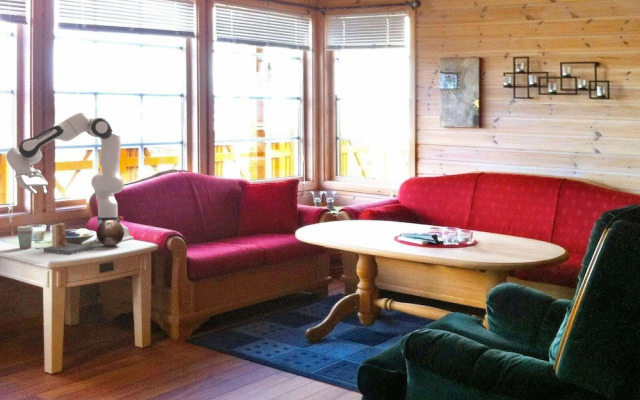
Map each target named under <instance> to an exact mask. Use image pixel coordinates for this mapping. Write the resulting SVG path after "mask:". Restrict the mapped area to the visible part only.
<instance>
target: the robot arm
mask: <svg viewBox="0 0 640 400" xmlns="http://www.w3.org/2000/svg"><path fill="white" fill-rule="evenodd" d="M85 132H86V133H87V134H88V135H90V136H92V137H95V138H99V139H100V143H101V145H100V153H99V154H100V155H99V165H100V166H101V170H102V173H98V174H95V175H94V176H93V177H92V178H91V180H90V181H91V183H90V184H91V186H92V188H93V191H94V192H95V198H96V201H97V212H98V213H97V227H98V226H99V225H100V224H101V223H102V222H103V221H105V220H115V221H117V222H119V223H120V224H121V225H122V227H123V229H124V236H123V239H122V240H121V242H120V243H122V242H125V241H128V240H132V239H134V236H132V235H130V231H129V227H127V226H126V225H124V224H123V223H122V222H121V221H124V216H121V215H120V216H119V215H118V213H119V212H118V210H119V209H118V208H119V206H118V201H117V200H116V197H115V194H118V193H121V192H122V191H123V189H124V186H125V182H124V181H123V178H122V176H121V170H120V169H121V168H120V161H121V159H120V158H121V148H122V145H121V144H122V143H121V136H120V134H119V133H118V132H116V131H113V130H112V127H111V125H110V122H109V121H108V120H107V119H105V118H103V117H95V118H89V116H88V115H87V114H86V113H83V112H79V113H75V114H74V115H72V116H70V117H68V118H67V119H65V120H63V121H61V122H60V123H58V124H57V125H54V126H52V127H50V128H48V129H46V130H44V131H43V132H41V133H39V134H38V135H35V136H33V137H30V138H26V139H23V140H22V141H21V142H20V143H19V145H18V147H12V148H11V149H9V151H8V152H6V156H5V159H6V161H7V163H8V165H9V166H10V167H11V169H12V170H13V171H14V172H15V176H14V177H15V178H16V179H15V180H16V182H17V184H18V186H19V187H20V188H21V189H22V190H27V191H28V192H30V193H31V195H35V194H37V191H36V190H35V189H41V190H42V191H41V192H42V194H43V195H45V194H47V193H48V191H47V189H46V187H47V186H48V185H49V183H48V180H46V178H45V176H44V175H43V174H42V172H41V171H40V169H37V168H35V167H32V166H33V165H36V164H38V163H39V162H40V161H42V159H43V153H42V151H41V148H42V147H43V146H45V145H47V144H49V143H50V142H52V141H54V140H55V141H56V140H60V141H63V142H69V141H72V140H74V139H75V138H77V137H79V136H80V135H81V134H82V133H85ZM95 242H99V243H100V241H99V240H98V238H97V237H96V238H95Z"/></svg>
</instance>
